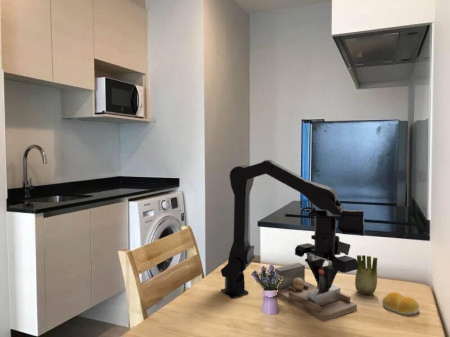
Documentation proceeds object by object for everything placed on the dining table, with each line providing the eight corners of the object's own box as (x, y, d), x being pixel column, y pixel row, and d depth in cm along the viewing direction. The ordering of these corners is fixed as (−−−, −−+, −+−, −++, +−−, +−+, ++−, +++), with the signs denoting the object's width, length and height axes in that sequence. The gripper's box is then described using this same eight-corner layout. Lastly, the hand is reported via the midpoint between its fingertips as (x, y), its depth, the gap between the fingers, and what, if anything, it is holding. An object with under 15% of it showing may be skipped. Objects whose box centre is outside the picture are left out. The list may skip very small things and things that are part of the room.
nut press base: (270, 292, 115) (270, 269, 114) (301, 284, 121) (301, 261, 121) (323, 321, 96) (324, 293, 95) (356, 309, 103) (357, 283, 102)
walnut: (290, 288, 114) (290, 277, 114) (298, 286, 116) (298, 275, 116) (298, 292, 111) (298, 281, 111) (306, 290, 113) (307, 278, 112)
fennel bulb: (378, 294, 113) (379, 256, 112) (369, 298, 110) (370, 259, 109) (361, 288, 118) (362, 251, 117) (352, 292, 115) (353, 254, 114)
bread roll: (411, 319, 98) (411, 304, 98) (378, 307, 105) (379, 294, 104) (424, 309, 103) (424, 295, 103) (392, 299, 110) (392, 286, 110)
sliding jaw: (306, 302, 103) (306, 270, 103) (331, 294, 109) (331, 263, 108) (315, 307, 100) (316, 273, 100) (341, 299, 106) (341, 267, 105)
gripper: (372, 235, 99) (370, 291, 100) (320, 222, 115) (319, 271, 116) (344, 241, 93) (342, 301, 95) (293, 227, 109) (293, 278, 110)
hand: (324, 286), depth 104 cm, fingers closed on sliding jaw, 3 cm apart
